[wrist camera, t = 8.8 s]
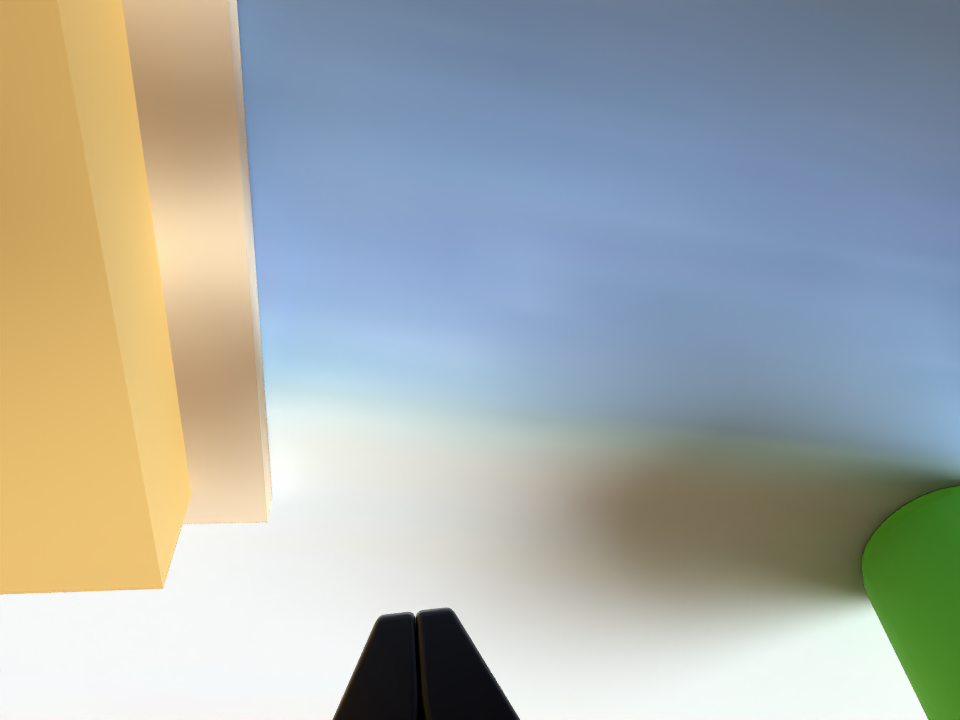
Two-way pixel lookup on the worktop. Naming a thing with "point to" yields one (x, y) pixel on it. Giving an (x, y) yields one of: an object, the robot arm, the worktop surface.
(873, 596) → the cup
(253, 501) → the board
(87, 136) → the link
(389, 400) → the worktop surface
